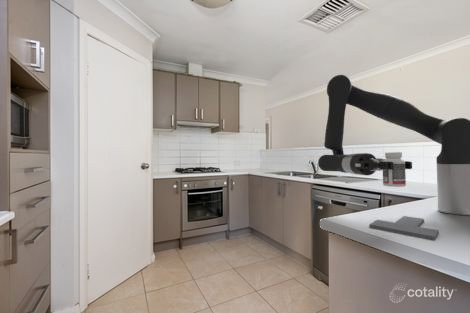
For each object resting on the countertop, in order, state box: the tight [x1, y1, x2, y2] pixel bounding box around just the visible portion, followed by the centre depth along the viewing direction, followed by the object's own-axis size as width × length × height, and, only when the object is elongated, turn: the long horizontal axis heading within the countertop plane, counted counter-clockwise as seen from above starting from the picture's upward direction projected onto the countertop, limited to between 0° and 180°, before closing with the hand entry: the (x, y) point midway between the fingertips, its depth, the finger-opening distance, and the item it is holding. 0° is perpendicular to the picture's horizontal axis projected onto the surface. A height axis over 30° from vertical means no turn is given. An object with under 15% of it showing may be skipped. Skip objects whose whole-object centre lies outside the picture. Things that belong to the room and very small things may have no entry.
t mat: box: [368, 215, 440, 241], centre depth 64 cm, size 18×14×1 cm
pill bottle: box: [382, 151, 407, 188], centre depth 64 cm, size 5×5×10 cm
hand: (401, 165), depth 62 cm, fingers closed on pill bottle, 5 cm apart
